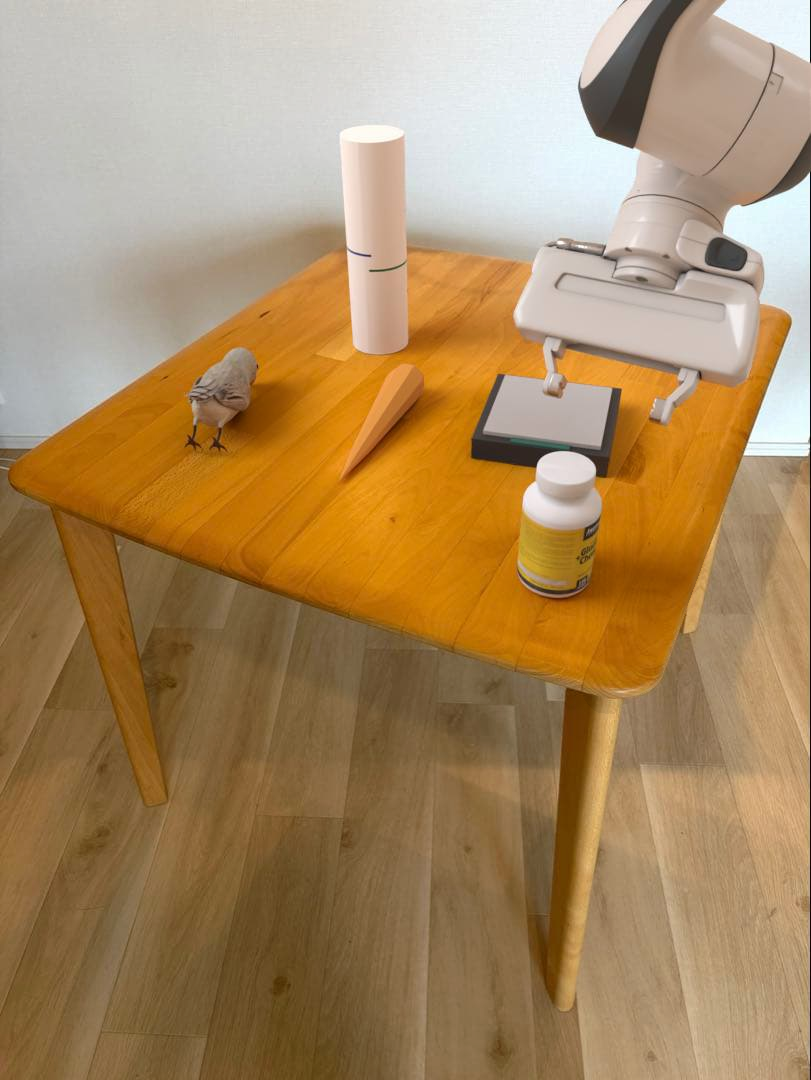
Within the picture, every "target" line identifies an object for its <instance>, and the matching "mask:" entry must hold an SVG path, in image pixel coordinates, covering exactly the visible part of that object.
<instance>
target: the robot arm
mask: <svg viewBox="0 0 811 1080" xmlns="http://www.w3.org/2000/svg"><path fill="white" fill-rule="evenodd" d="M726 2H727V0H623V1H622V2H621V4H619V5H618V7H617V8H616V9H615V10H614V11H613V13H612V14H611V15H610V16H609V17H608V18H607V19H606V21H604V23H603V25H602V26H601V27H600V29H599V31H597V34H596V36H595V37H594V39H593V41H592V43H591V44H590V47H589V49H588V51H587V54H586V56H585V59H584V62H583V64H582V69H581V72H580V75H579V79H578V83H577V90H578V95H579V99H580V103H581V105H582V109H583V111H584V114H585V117H586V119H587V121H588V124H589V126H590V127H591V130H592V132H593V133H594V135H595V137H596V138H600V139H602V140H606V141H608V142H611V143H614V144H617V145H620V146H622V147H625V148H628V149H631V150H634V149H636V150H638V151H640V152H639V154H638V156H637V160H636V167H635V178H634V181H633V184H632V186H631V189H629V191H628V193H627V194H626V195H625V197H624V199H623V200H622V202H621V204H620V207H619V209H618V212H617V215H616V218H615V220H614V223H613V225H612V229H611V232H610V235H609V238H608V240H607V243H606V244H601V243H597V242H589V241H578V240H574V239H572V238H567V237H559V238H557V240H556V241H555V240H554V241H550V242H548V243H546V244H545V245H543V246H541V247H540V248H539V250H537V252H536V256H535V258H534V261H533V264H532V266H531V273H530V277H529V279H528V280H527V282H526V284H525V287H524V288H523V290H522V292H521V295H520V297H519V298H518V301H517V304H516V306H515V308H514V311H513V314H512V315H513V316H512V318H513V322H514V325H515V327H516V329H517V331H518V332H519V334H520V335H521V336H522V338H523V339H525V340H527V341H531V342H535V343H539V344H542V345H543V346H542V353H543V358H544V363H545V368H546V372H547V373H546V375H545V378H544V379H545V381H544V383H543V386H542V392H543V393H544V395H547V396H551V397H555V398H559V399H561V398H562V396H563V389H565V387H566V384H567V382H569V381H568V379H567V378H566V376H565V374H562V373H559V369H558V368H559V367H558V363H557V360H561V361H562V360H563V359H564V357H565V354H566V352H567V350H569V351H573V352H577V353H582V354H586V355H591V356H594V357H599V358H604V359H607V360H611V361H615V362H620V363H625V364H629V365H632V366H637V367H642V368H645V369H651V370H653V371H659V372H663V373H666V374H671V375H675V376H677V383H678V384H677V385H678V387H677V388H676V389H675V390H673V392H672V393H670V395H668V396H667V397H666V398H665V399H664V398H660V397H655V398H654V401H653V404H652V406H653V408H652V409H650V413H649V416H648V420H649V422H650V423H653V424H656V425H659V426H663V427H669V426H670V423H671V420H672V417H673V415H674V413H675V409H677V408H678V407H680V406H681V405H682V404H683V403H685V402H686V400H688V399H689V398H690V397H691V396H693V395H694V394H695V393H696V391H697V388H698V386H699V382H700V381H701V382H705V383H709V384H713V385H718V386H722V387H727V388H731V389H732V388H734V389H735V388H737V387H738V386H740V385H741V384H743V383H745V382H746V381H747V380H748V378H749V377H750V373H751V371H752V370H751V369H752V366H753V363H754V359H755V355H756V351H757V346H758V339H759V333H760V324H761V301H760V297H761V294H762V292H763V288H764V283H765V265H764V260H763V256H762V255H761V254H760V252H758V251H756V250H755V249H753V248H751V247H749V246H747V245H746V244H743V243H741V242H739V241H737V240H735V239H734V238H732V237H731V236H728V235H726V234H724V229H725V228H724V226H725V220H726V217H727V215H728V213H729V212H730V210H731V209H732V208H733V207H735V206H740V207H747V206H751V205H754V204H757V203H760V202H762V201H766V200H767V199H770V198H773V197H775V196H778V195H780V194H783V193H785V192H788V191H790V190H792V189H793V188H796V186H798V185H799V184H800V183H802V182H803V181H804V180H805V179H806V178H807V177H808V175H809V174H810V173H811V62H809V61H808V60H805V59H803V58H802V57H800V56H798V55H796V54H794V53H793V52H790V51H788V50H787V49H785V48H782V47H781V46H779V45H776V44H774V43H773V42H768V41H766V40H764V39H762V38H760V37H758V36H756V35H754V34H752V33H751V32H749V31H746V30H744V29H743V28H740V27H738V26H737V25H734V24H732V23H731V22H729V21H727V20H724V19H723V18H721V17H719V16H717V15H715V13H716V12H717V11H718V10H719V9H721V7H722V6H723V5H724V4H725V3H726Z"/></svg>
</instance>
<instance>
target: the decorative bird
mask: <svg viewBox="0 0 811 1080" xmlns="http://www.w3.org/2000/svg"><path fill="white" fill-rule="evenodd" d="M258 369H259V363H258V361H257V359H256V356H255V354H253V353H252V351H250V350H249V349H247V348H246V347H243V346H240V347H235V348H232V349H230V350H229V351H228V352H227V353H226V354H225V356H224V357H223V359H222V360H221V361H220V362H217V363H215V364H213V365H212V366H211V367H209V368H208V369H207V371H206V372H205V373H204V374H203V375H202V376H199V377H198V378H196V379H195V381H194V383H193V386H192V387H191V389H190V391H189V392H187V393H186V394H185V395H183V398H185V397H188V400H187V401H188V402H189V403H190V404H191V412H192V413H193V416H194V417H193V421H192V422H193V423H192V425H193V432H192V435H189V434H186V436H187V438H188V439H187V442H186V443H185V445H184V448H187V447H188V446H189V445H190V446H192V447H193V449H194V451H195V452H196V451H197V447H199V448H200V449H201V450H202V451H204V449H203V447H202V445H201V444H200V443H198V442H197V441H196V440H195V437H196V434H197V429H198V428H197V427H198V425H199V423H200V422H201V423H203V424H204V425H206V426H208V427H209V428H217V429H218V431H217V437H215V436H211V438H212V441H213V442H212V444H211V445H210V446H209V448H208V450H209V451H210V450H211V449H213V448H216V449H217V450H218V452H219V453H221V451H222V449H224V451H225V452H228V449H227V448H226V447H225V446H224V445H223V444H221V443H220V442H219V441H220V439H221V435H222V428H224V426H225V424H227V423H228V422H230V421H231V420H233V418H235V416H236V415H237V414H238V413H239V412H245V411H247V409H248V407H249V405H250V403H251V386H253V384H254V383H255V381H256V379H257V374H258ZM221 448H222V449H221Z"/></svg>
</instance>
